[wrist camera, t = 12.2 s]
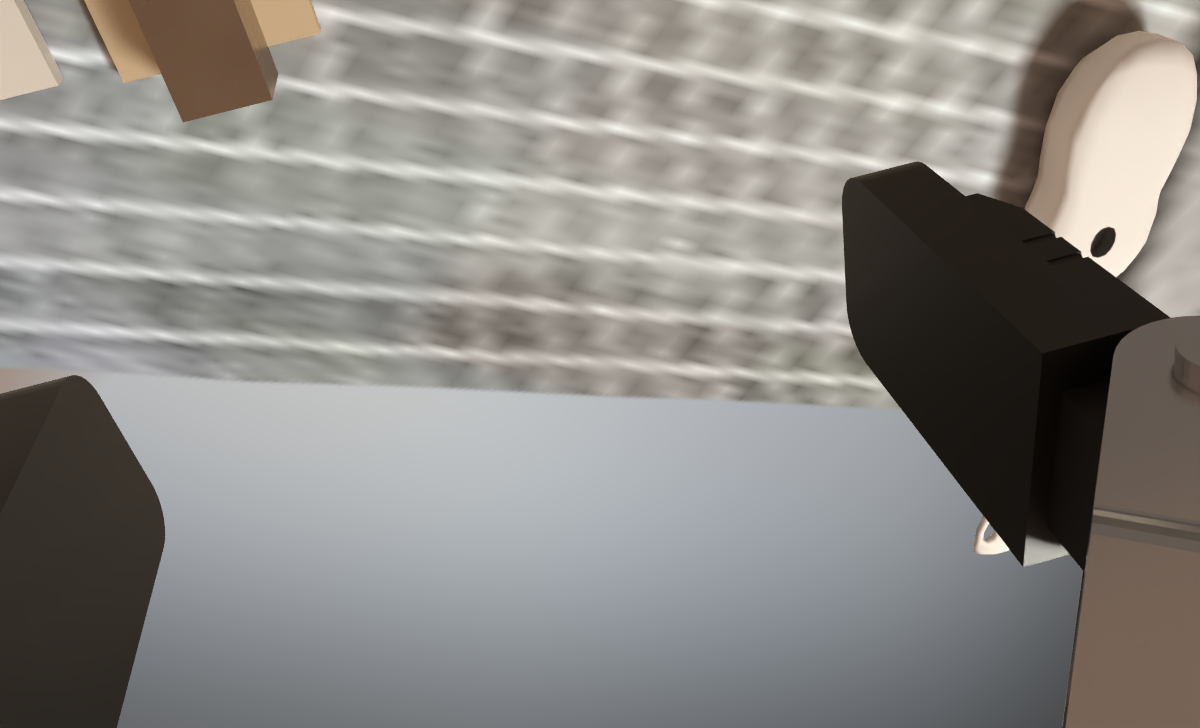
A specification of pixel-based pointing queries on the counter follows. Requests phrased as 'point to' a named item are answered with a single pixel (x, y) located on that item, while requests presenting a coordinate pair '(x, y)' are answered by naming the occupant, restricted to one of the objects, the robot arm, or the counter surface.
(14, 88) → the rack
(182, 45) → the rail
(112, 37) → the tray
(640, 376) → the counter surface
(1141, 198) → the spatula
